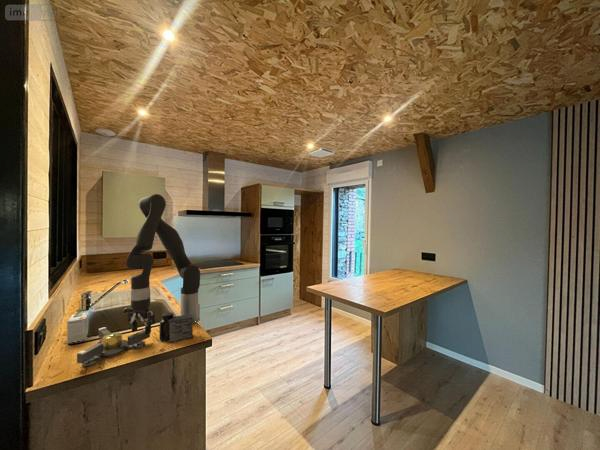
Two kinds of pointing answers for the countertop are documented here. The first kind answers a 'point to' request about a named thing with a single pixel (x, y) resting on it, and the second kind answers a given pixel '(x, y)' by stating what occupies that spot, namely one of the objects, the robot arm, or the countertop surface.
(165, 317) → the supplement bottle
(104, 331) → the knob side
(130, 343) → the knob
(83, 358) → the knob
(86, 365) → the tribrach
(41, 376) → the countertop surface
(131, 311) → the robot arm
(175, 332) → the small box
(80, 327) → the light bulb box
